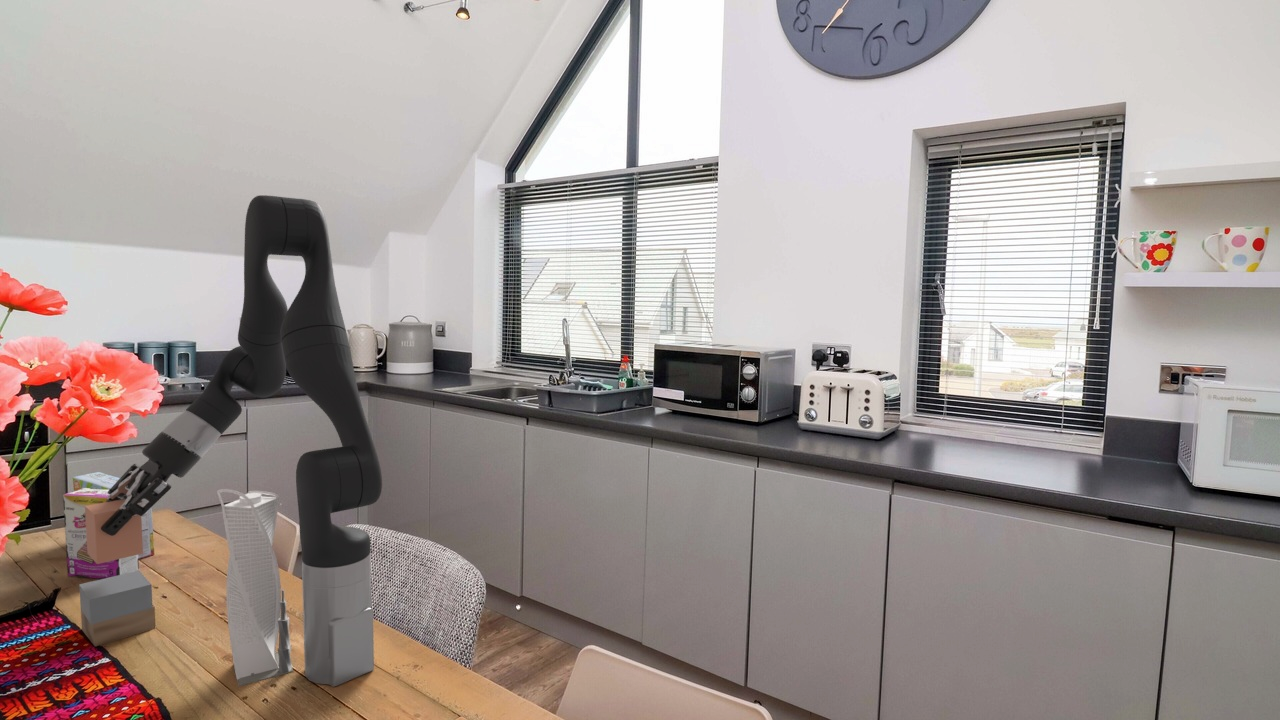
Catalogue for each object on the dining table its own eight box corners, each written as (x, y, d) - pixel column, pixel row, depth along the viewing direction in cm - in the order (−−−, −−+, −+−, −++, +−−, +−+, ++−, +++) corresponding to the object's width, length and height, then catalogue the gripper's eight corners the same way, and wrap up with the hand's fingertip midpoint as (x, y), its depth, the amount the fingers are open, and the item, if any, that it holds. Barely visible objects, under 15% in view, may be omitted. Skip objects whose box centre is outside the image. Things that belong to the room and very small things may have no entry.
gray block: (152, 607, 112) (151, 584, 111) (90, 624, 106) (89, 599, 105) (140, 593, 117) (139, 570, 117) (80, 608, 111) (79, 584, 111)
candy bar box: (65, 577, 131) (60, 494, 130) (88, 567, 136) (84, 487, 134) (119, 581, 130) (114, 497, 128) (140, 571, 135) (136, 489, 133)
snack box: (74, 544, 148) (70, 476, 147) (104, 536, 153) (101, 470, 152) (126, 564, 138) (123, 491, 137) (157, 555, 143) (153, 484, 142)
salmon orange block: (143, 553, 111) (140, 505, 111) (97, 564, 107) (94, 514, 106) (132, 544, 115) (129, 497, 114) (87, 554, 111) (84, 505, 110)
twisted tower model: (226, 691, 96) (219, 496, 93) (221, 665, 102) (214, 483, 100) (293, 673, 101) (288, 487, 98) (284, 649, 107) (279, 475, 105)
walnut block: (155, 629, 113) (154, 606, 112) (95, 648, 106) (93, 623, 106) (140, 614, 118) (139, 592, 117) (82, 631, 111) (80, 608, 111)
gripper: (150, 424, 119) (67, 505, 111) (178, 437, 110) (90, 526, 102) (186, 449, 124) (109, 529, 116) (216, 463, 115) (134, 551, 107)
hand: (101, 527), depth 109 cm, fingers closed on salmon orange block, 6 cm apart
